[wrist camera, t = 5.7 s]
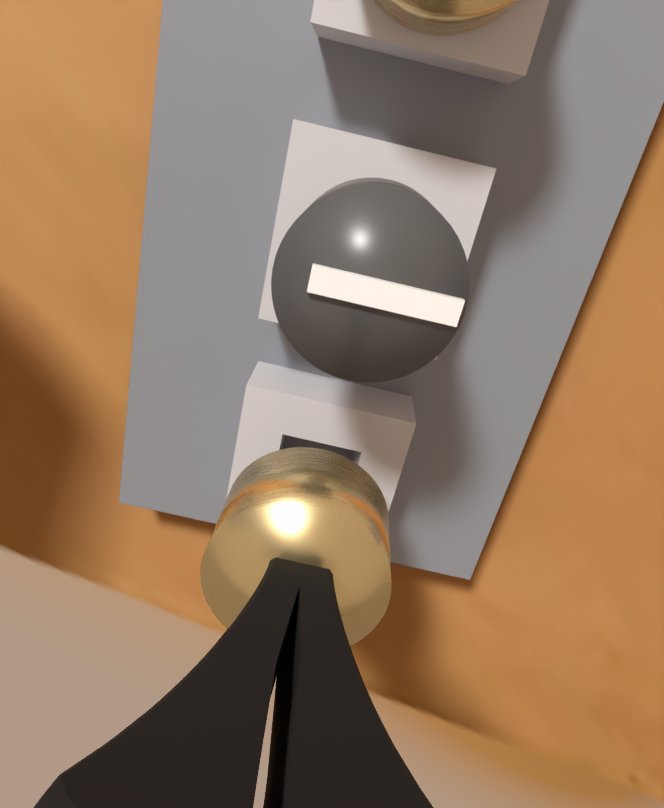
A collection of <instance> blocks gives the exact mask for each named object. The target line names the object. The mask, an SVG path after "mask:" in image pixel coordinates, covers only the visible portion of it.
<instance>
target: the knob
mask: <svg viewBox="0 0 664 808" xmlns="http://www.w3.org/2000/svg"><path fill="white" fill-rule="evenodd" d="M276 557H277V558H281V559H286V560H291V561H295V562H300V563H304V564H309V565H313V566H318V567H322V568H327V569H330V571H331V572H332V574H333V581H334V587H335V593H336V598H337V602H338V606H339V610H340V614H341V618H342V622H343V625H344V629H345V632H346V635H347V638H348V641H349V644H350V646H351V645H353V644H355V643H357V642H358V641H360V640H361V639H363V638H364V637H365V636H367V635H368V634H369V633H370V632H371V631H372V630H373V629H374V628H375V627H376V626H377V625H378V623H379V622H380V620H381V619H382V617H383V616H384V614H385V612H386V609H387V607H388V605H389V601H390V597H391V586H392V585H391V562H390V540H389V518H388V509H387V505H386V501H385V498H384V496H383V494H382V491H381V490H380V488H379V486H378V485H377V483H376V482H375V481H374V479H373V478H372V477H371V476H370V475H369V474H368V473H367V472H366V471H365V470H364V469H363V468H362V467H360V466H359V465H358V464H356V463H355V462H353V461H351V460H350V459H348V458H346V457H344V456H342V455H339V454H337V453H335V452H331V451H328V450H324V449H318V448H311V447H294V448H287V449H281V450H277V451H274V452H271V453H269V454H266V455H264V456H262V457H260V458H258V459H257V460H255V461H254V462H252V463H251V464H250V465H249V466H247V467H246V468H245V469H244V470H243V471H242V472H241V473H240V475H239V476H238V477H237V478H236V480H235V482H234V483H233V485H232V487H231V489H230V492H229V494H228V497H227V499H226V501H225V504H224V506H223V509H222V511H221V514H220V516H219V519H218V521H217V524H216V526H215V528H214V531H213V533H212V536H211V538H210V541H209V543H208V546H207V548H206V551H205V553H204V556H203V560H202V564H201V585H202V589H203V593H204V596H205V598H206V601H207V603H208V605H209V606H210V608H211V610H212V612H213V613H214V614H215V616H216V617H217V618H218V619H219V621H220V622H221V623H222V624H223V625H224V626H225V627H226V628H227V629H228V628H229V627H230V626H231V624H232V623H233V622H234V621H235V619H236V618H237V617H238V615H239V614H240V612H241V611H242V609H243V608H244V607H245V605H246V604H247V602H248V601H249V599H250V598H251V596H252V595H253V593H254V592H255V590H256V588H257V587H258V585H259V583H260V582H261V580H262V578H263V576H264V574H265V572H266V570H267V568H268V565H269V562H270V560H272V559H274V558H276Z"/></svg>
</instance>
